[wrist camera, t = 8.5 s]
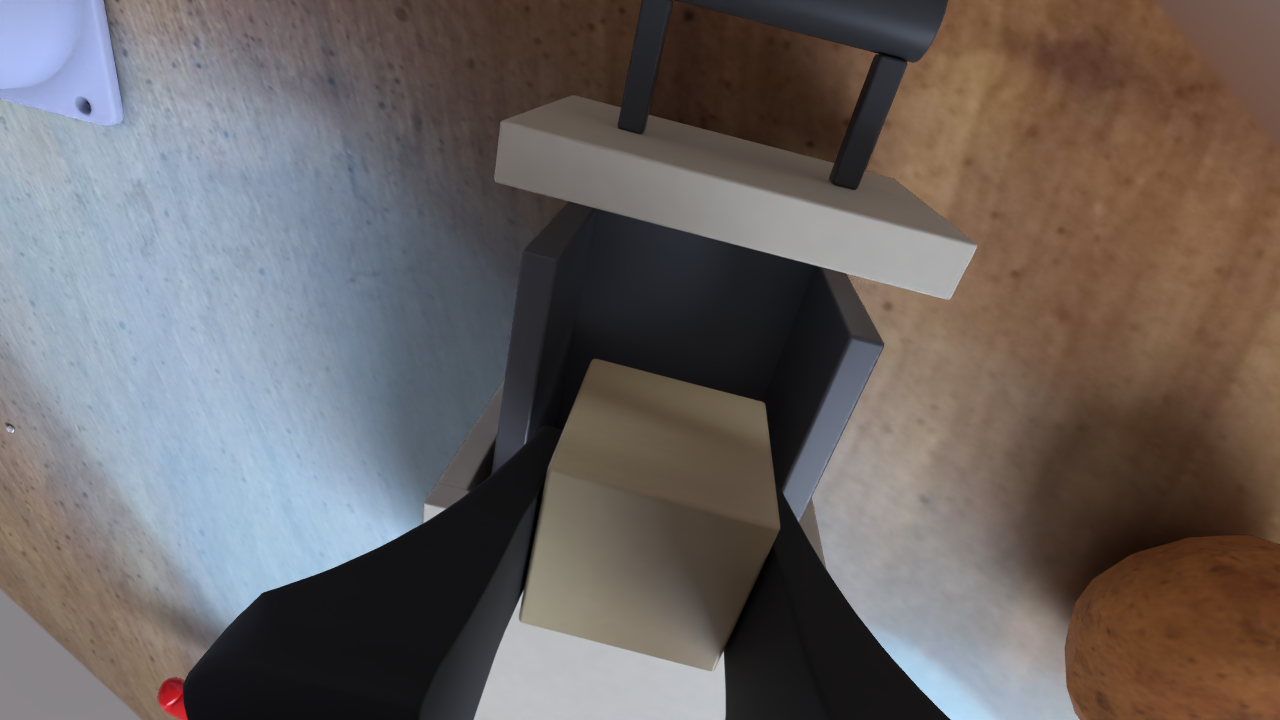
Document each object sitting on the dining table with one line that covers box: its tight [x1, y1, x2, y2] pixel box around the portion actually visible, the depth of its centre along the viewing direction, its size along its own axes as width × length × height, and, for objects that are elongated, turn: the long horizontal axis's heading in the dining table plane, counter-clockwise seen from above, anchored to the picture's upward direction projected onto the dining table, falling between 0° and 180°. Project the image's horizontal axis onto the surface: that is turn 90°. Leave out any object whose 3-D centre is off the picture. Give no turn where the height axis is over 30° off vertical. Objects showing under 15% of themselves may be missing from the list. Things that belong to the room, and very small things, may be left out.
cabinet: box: [423, 378, 826, 720], centre depth 22 cm, size 13×11×8 cm
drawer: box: [491, 0, 977, 522], centre depth 16 cm, size 16×9×6 cm, turn 167°
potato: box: [1065, 535, 1280, 720], centre depth 21 cm, size 9×11×8 cm
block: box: [519, 359, 780, 671], centre depth 13 cm, size 4×4×4 cm
